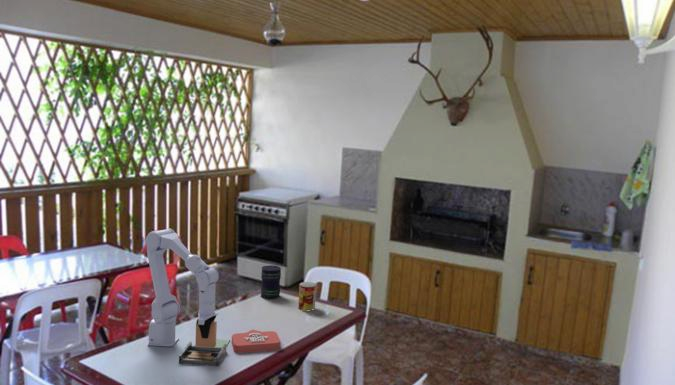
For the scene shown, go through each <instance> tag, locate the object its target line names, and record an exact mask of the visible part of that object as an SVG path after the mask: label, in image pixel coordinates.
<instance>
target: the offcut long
mask: <svg viewBox="0 0 675 385" xmlns="http://www.w3.org/2000/svg"><path fill="white" fill-rule="evenodd" d="M214 358H215V357H212V356H199V355H187V356H186V359H198V360H215V359H214Z"/></svg>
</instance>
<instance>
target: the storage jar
mask: <svg viewBox="0 0 675 385" xmlns="http://www.w3.org/2000/svg"><path fill="white" fill-rule="evenodd" d="M281 269H282V267H281V266H278V265H274V264H273V265H264V266H262V267H261V273H260V274H261V276H260V277H261V286H260V298H262V299H264V300H277V299H279V298H280V294H281V278H282V273H281V272H282V270H281Z"/></svg>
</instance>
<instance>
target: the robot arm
mask: <svg viewBox="0 0 675 385" xmlns="http://www.w3.org/2000/svg"><path fill="white" fill-rule="evenodd" d="M144 240H145V245H146V254H147V259H148V264H149V270H150V274H151V279H152V285H153V289H154V290H153V291H154V295H155V298H154V299H153V301H152V303H151V305H150V306H151V318H152V319H151V320H150V323H149V324H148V343H147V345H148V346H154V347H155V346H157V347H173V346H174V345H175V344H176V343H177V341H178V340H179V339H180V338H179V337H176V321H177V318H178V315H179V314H180V312H181V306H180V304H179V302H178V300H177V297H176V296H175V295H173V294H171V289H170V284H169V279H168V275H167V274H168V273H167V269H166V265H165V259H164V253H165V252H166V250H167V249H170V250H171V251H172V252H174V253H175V254H176V255H177V256H179V257H180V258H181V259H182V260H183V261H184V266H185V268H186V269H188V270H189V271H190V272H191V274H193V275H194V276H195V280H196V282H197V285H198V287H197V288H198V290H199V295H198V298H199V299H198V312H197V313H198V314H197V315H198V318H197V320H196V322H197V324H198V326H199V328H200V332H201V337H202V338H206V339H207V338H208V336H209V330H210V326H211V324H212V322H213V321H215V320H216V318H217V316H218V315H219V312H218V311H216V310H215V309H216V285H217V284H216V282H218V280H219V278H220V273H219V271H218V270H217V268H216V267H215V266H214V267H213V266H210V265H209V264H207V263H206V262H205V261H204V260H203V259H202V258H201V256H200V255H197V254H192V253H191V251H190V250H188V248H187V247H186V246H185V245H184V243H183V242H182V241H181V240H180V239H179V235H178V233H177V232H175V230H173V229H172V228H166V229H160V230H157V231H156V230H155V231H150V232H149V233H147V235H146V237H145V239H144Z"/></svg>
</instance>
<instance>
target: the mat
mask: <svg viewBox="0 0 675 385" xmlns="http://www.w3.org/2000/svg"><path fill="white" fill-rule="evenodd" d="M230 342H231V340H229V339H217V338H216V346H215V347H223V345H224V344H226V348H228V345H229V343H230ZM195 345H196V343H195V344H194V346H195Z"/></svg>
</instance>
